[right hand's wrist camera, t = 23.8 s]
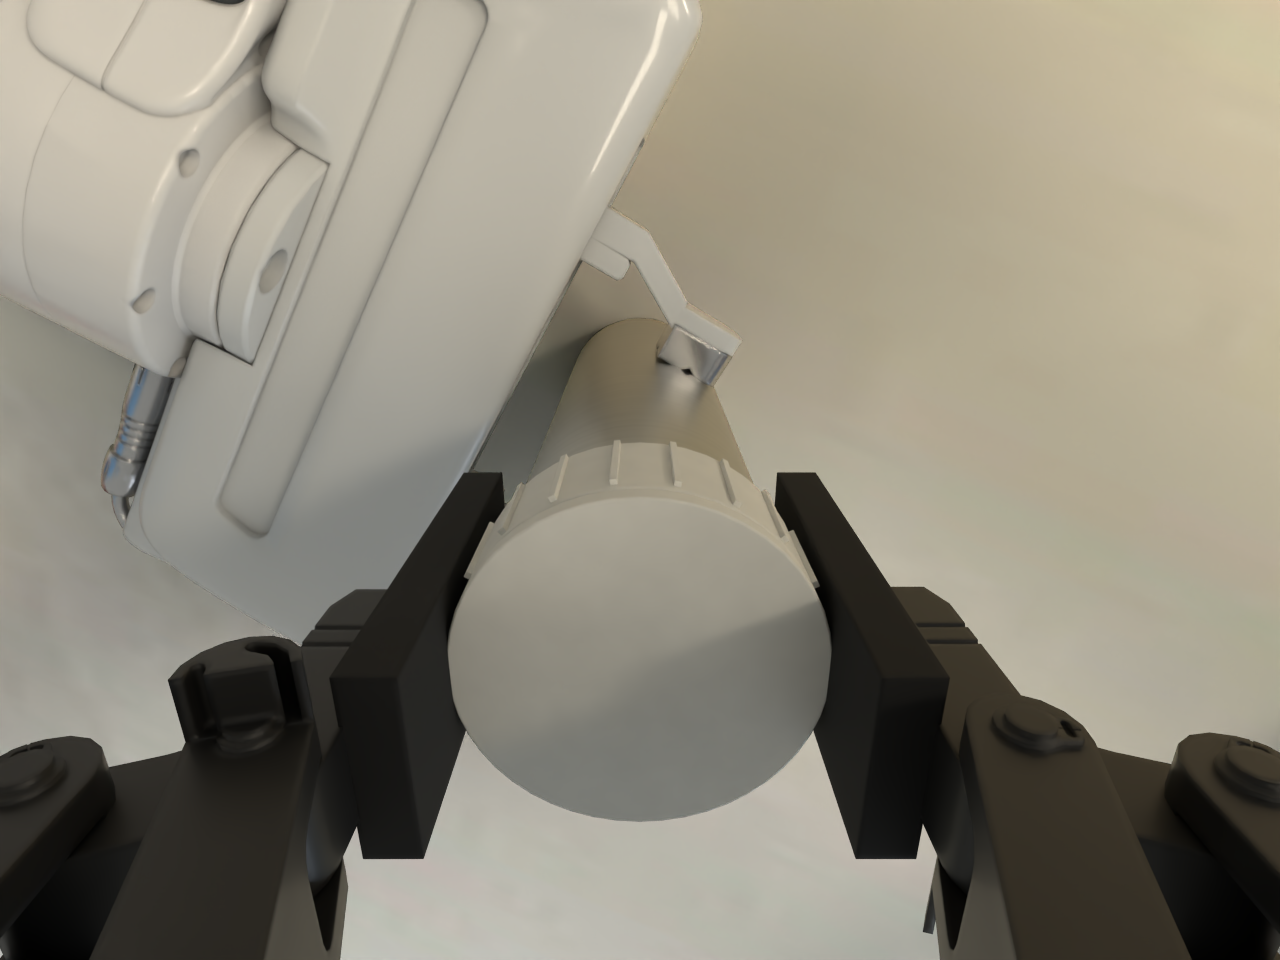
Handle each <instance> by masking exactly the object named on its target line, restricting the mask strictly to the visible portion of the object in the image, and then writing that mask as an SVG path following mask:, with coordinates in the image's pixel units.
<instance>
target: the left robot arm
mask: <svg viewBox="0 0 1280 960" xmlns="http://www.w3.org/2000/svg"><path fill="white" fill-rule="evenodd" d="M702 22H703V15H702V10H701V6H700V1H699V0H0V296H2V297H4V298H6V299H8V300H10V301H12V302H14V303H16V304H18V305H20V306H22V307H24V308H26V309H28V310H30V311H32V312H34V313H36V314H38V315H40V316H42V317H44V318H46V319H48V320H50V321H52V322H54V323H56V324H58V325H60V326H62V327H64V328H66V329H68V330H70V331H72V332H74V333H76V334H78V335H80V336H82V337H84V338H86V339H88V340H90V341H92V342H94V343H96V344H98V345H100V346H102V347H104V348H106V349H108V350H110V351H112V352H114V353H116V354H118V355H120V356H122V357H124V358H126V359H128V360H130V361H132V362H134V363H135V366H134V369H133V372H132V375H131V379H130V382H129V385H128V388H127V391H126V394H125V398H124V402H123V406H122V413H121V420H120V426H119V430H118V434H117V436H116V439H115V442H114V444H112V445H111V446H110V448H109V449H108V451H107V453H106V456H105V459H104V462H103V466H102V471H101V486H102V488H103V489H104V491H106V492H107V493H109V494H111V495H112V506H113V509H114V513H115V515H116V518H117V520H118V522H119V523H120V525H121V527H122V528H123V535H124V537H125V539H126V540H127V541H128V542H130V543H131V544H132V545H133V546H134V547H136V548H137V549H139V550H141V551H142V552H144V553H146V554H148V555H150V556H153V557H155V558H157V559H159V560H161V561H164V562H166V563H168V564H170V565H171V566H172V567H173V568H175V569H176V570H177V571H178V572H180V573H181V574H183V575H184V576H186V577H187V578H188V579H190V580H191V581H193V582H194V583H196V584H197V585H199V586H200V587H202V588H203V589H205V590H207V591H208V592H210V593H211V594H213V595H214V596H216V597H217V598H219V599H221V600H222V601H224V602H226V603H227V604H229V605H231V606H232V607H234V608H236V609H237V610H239V611H241V612H242V613H244V614H246V615H247V616H249V617H251V618H252V619H254V620H256V621H258V622H259V623H261V624H263V625H265V626H266V627H268V628H270V629H272V630H274V631H276V632H277V633H279V634H281V635H283V636H285V637H287V638H289V639H291V640H292V641H294V642H296V643H298V644H300V645H302V642H303V640H304V639H305V638H306V637H307V635H308V634H309V633H310V631H311V630H314V629H315V625H316V624H317V622H318V621H319V620H320V618H321V617H322V616H323V614H324V613H325V612H326V611H327V609H328V608H329V607H330V606H331V605H332V604H334V603H336V602H337V601H339V600H340V599H342V598H343V597H345V596H346V595H348V594H349V593H351V592H352V591H354V590H355V589H388V587H389V586H390V584H391V583H392V581H393V580H394V578H395V577H396V575H397V574H398V572H399V571H400V569H401V567H402V566H403V564H404V563H405V561H406V560H407V558H408V557H409V555H410V554H411V552H412V551H413V549H414V548H415V546H416V545H417V543H418V542H419V540H420V538H421V537H422V535H423V534H424V532H425V531H426V529H427V528H428V526H429V525H430V523H431V522H432V520H433V519H434V517H435V516H436V514H437V513H438V511H439V510H440V508H441V506H442V505H443V503H444V502H445V500H446V499H447V497H448V496H449V494H450V493H451V491H452V490H453V488H454V487H455V485H456V484H457V482H458V481H459V479H460V478H461V476H462V474H463V473H479V472H477V471H475V470H473V468H474V466H475V464H476V463H477V461H478V459H479V457H480V455H481V453H482V451H483V449H484V447H485V445H486V444H487V442H488V440H489V438H490V436H491V434H492V432H493V430H494V428H495V426H496V424H497V423H498V421H499V419H500V417H501V415H502V413H503V411H504V409H505V407H506V405H507V404H508V402H509V400H510V398H511V396H512V394H513V392H514V390H515V388H516V386H517V384H518V383H519V381H520V379H521V377H522V375H523V373H524V371H525V369H526V367H527V365H528V364H529V362H530V360H531V358H532V356H533V354H534V352H535V350H536V348H537V346H538V344H539V343H540V341H541V339H542V337H543V335H544V333H545V331H546V329H547V327H548V325H549V324H550V322H551V320H552V318H553V316H554V314H555V312H556V310H557V308H558V306H559V304H560V303H561V301H562V299H563V297H564V295H565V293H566V291H567V289H568V287H569V285H570V284H571V282H572V280H573V278H574V276H575V274H576V272H577V270H578V268H579V266H580V264H581V263H582V261H584V262H586V263H587V264H589V265H591V266H593V267H594V268H596V269H598V270H600V271H601V272H603V273H605V274H606V275H608V276H610V277H612V278H613V279H615V280H620V279H623V278H624V276H625V274H626V272H627V270H628V269H629V267H630V262H631V261H632V262H634V264H635V265H636V267H637V269H638V271H639V272H640V274H641V276H642V278H643V279H644V281H645V283H646V285H647V286H648V288H649V290H650V292H651V293H652V295H653V297H654V299H655V300H656V302H657V304H658V306H659V307H660V309H661V311H662V313H663V314H664V316H665V318H666V320H667V321H668V324H667V326H666V328H665V329H664V331H663V333H662V335H661V337H660V338H659V340H658V342H657V344H656V349H657V357H659V358H661V359H662V360H664V361H666V362H667V363H669V364H671V365H673V366H675V367H677V368H680V369H687V368H689V369H690V371H691V373H692V375H693V376H694V377H695V378H697V379H698V380H699V381H700V382H702V383H704V384H706V385H708V386H712V387H713V386H714V384H715V383H716V381H717V380H718V378H719V377H720V375H721V374H722V372H723V371H724V369H725V367H726V366H727V364H728V363H729V361H730V360H731V358H732V356H733V355H734V353H735V352H736V350H737V348H738V347H739V345H740V344H741V342H742V341H743V340H742V339H741V338H740V336H739V335H738V334H737V333H736V332H735V331H733V330H732V329H730V328H729V327H728V326H726V325H725V324H723V323H721V322H720V321H718V320H716V319H715V318H713V317H711V316H710V315H708V314H706V313H705V312H703V311H701V310H700V309H698V308H696V307H695V306H693V305H691V304H690V303H688V302H687V300H686V298H685V296H684V294H683V292H682V290H681V289H680V287H679V285H678V283H677V281H676V279H675V278H674V276H673V274H672V272H671V270H670V269H669V267H668V265H667V263H666V261H665V259H664V258H663V256H662V254H661V252H660V250H659V249H658V247H657V245H656V243H655V241H654V239H653V238H652V236H651V234H650V232H649V230H648V229H646V228H644V227H643V226H641V225H639V224H638V223H636V222H635V221H633V220H631V219H630V218H628V217H626V216H625V215H623V214H621V213H620V212H618V211H617V210H615V209H613V208H612V207H611V205H612V204H613V202H614V200H615V198H616V196H617V194H618V192H619V190H620V188H621V186H622V184H623V183H624V181H625V179H626V177H627V175H628V173H629V171H630V169H631V167H632V165H633V163H634V162H635V160H636V158H637V156H638V154H639V152H640V150H641V148H642V146H643V144H644V143H645V141H646V139H647V137H648V135H649V133H650V131H651V129H652V127H653V125H654V123H655V122H656V120H657V118H658V116H659V114H660V112H661V110H662V108H663V106H664V104H665V103H666V101H667V99H668V97H669V95H670V93H671V91H672V89H673V87H674V85H675V83H676V82H677V80H678V78H679V76H680V74H681V72H682V70H683V68H684V66H685V64H686V62H687V60H688V59H689V57H690V55H691V53H692V51H693V49H694V47H695V44H696V42H697V40H698V38H699V34H700V30H701V26H702ZM503 491H505V489H504V486H503ZM133 496H134V499H133V502H132V504H131V507H130V505H129V497H133ZM507 504H508V503H504V505H505V506H506V505H507Z"/></svg>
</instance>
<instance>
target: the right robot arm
mask: <svg viewBox="0 0 1280 960" xmlns="http://www.w3.org/2000/svg"><path fill="white" fill-rule="evenodd" d="M504 508H505V505H504V491H503V478H502V473H463V474H462V476H461V478H460V479H459V481H458V482H457V484H456V485H455V487H454V488H453V490H452V491H451V493H450V494H449V496H448V497H447V499H446V500H445V502H444V503H443V505H442V506H441V508H440V510H439V511H438V513H437V514H436V516H435V517H434V519H433V520H432V522H431V523H430V525H429V526H428V528H427V529H426V531H425V532H424V534H423V535H422V537H421V538H420V540H419V542H418V543H417V545H416V546H415V548H414V549H413V551H412V552H411V554H410V555H409V557H408V558H407V560H406V561H405V563H404V564H403V566H402V567H401V569H400V571H399V572H398V574H397V575H396V577H395V578H394V580H393V581H392V583H391V584H390V586H389V587H388V589H355V590H354V591H352V592H351V593H349V594H348V595H346V596H345V597H343V598H342V599H340V600H339V601H337V602H336V603H334V604H332V605H331V606H330V607H329V608H328V609H327V611H326V612H325V613H324V614H323V616H322V617H321V618H320V620H319V621H318V622H317V624H316V625H315V629H314V630H311V631H310V633H309V634H308V635H307V637H306V638H305V639H304V640H303V642H302V647H299V646H298V645H296V644H295V643H294V642H293V641H291V640H289V639H285V638H280V637H275V636H259V637H247V638H243V639H238V640H234V641H230V642H225V643H223V644H220V645H218V646H215V647H213V648H210V649H208V650H206V651H203V652H201V653H199V654H198V655H196V656H194V657H193V658H191V659H190V660H188V661H187V662H185V663H184V664H182V665H181V666H180V667H179V668H178V669H177V670H176V671H175V673H174V674H173V675H172V676H171V677H170V678H169V679H168V682H169V686H170V689H171V693H172V696H173V700H174V703H175V707H176V710H177V714H178V717H179V721H180V724H181V728H182V731H183V735H184V738H185V742H186V743H185V745H184V747H183V749H182V751H179V752H176V753H172V754H168V755H164V756H160V757H155V758H150V759H146V760H141V761H136V762H132V763H127V764H122V765H118V766H113V767H108V764H107V761H106V758H105V755H104V752H103V750H102V747H101V746H100V745H98V744H97V743H96V742H94V741H93V740H92V739H91V738H83V737H75V736H66V737H59V738H52V739H45V740H41V741H37V742H33V743H30V744H29V745H27V744H26V745H24V746H21V747H18V748H15V749H13V750H11V751H9V752H8V753H6V754H4V755H2V756H0V949H1V951H2V953H3V955H2V957H1V958H0V960H340V955H341V946H342V937H343V928H344V919H345V910H346V901H347V892H348V883H347V876H346V870H345V865H344V860H343V855H344V853H345V851H346V849H347V847H348V844H349V842H350V840H351V838H352V836H353V833H354V831H355V829H356V827H357V829H358V834H359V840H360V845H361V850H362V856H363V859H424V856H425V853H426V850H427V847H428V844H429V841H430V838H431V835H432V832H433V828H434V825H435V822H436V819H437V816H438V813H439V810H440V807H441V804H442V801H443V798H444V795H445V792H446V789H447V786H448V783H449V780H450V777H451V774H452V771H453V768H454V765H455V762H456V759H457V756H458V753H459V750H460V747H461V744H462V741H463V738H464V735H465V731H466V729H465V727H464V725H463V723H462V721H461V719H460V718H459V716H458V713H457V710H456V707H455V704H454V701H453V695H452V687H451V678H450V669H449V660H448V650H447V644H448V635H449V629H450V626H451V622H452V619H453V615H454V612H455V609H456V607H457V605H458V602H459V600H460V598H461V596H462V594H463V591H464V589H465V587H466V585H467V583H468V580H469V579H467V578H465V577H464V575H465V573H466V571H467V569H468V566H469V564H470V562H471V560H472V558H473V556H474V554H475V552H476V550H477V547H478V545H479V543H480V541H481V539H482V537H483V535H484V533H485V531H486V529H487V526H488V524H489V523H490V522H492V523H494V524H495V522H496V520H497V518H498V517H499V515H500V514H501V512H502V511H503V509H504ZM775 508H776V510H777V512H778V513H779V515H780V517H781V518H782V520H783V521H784V523H785V525H786V527H787V530H788V532H789V531H792V530H794V532H795V534H796V536H797V539H798V541H799V543H800V545H801V547H802V549H803V551H804V553H805V555H806V558H807V560H808V562H809V564H810V566H811V568H812V570H813V572H814V574H815V577H816V579H817V581H818V583H819V585H820V586H819V587H817V588H814V589H815V591H816V593H817V595H818V598H819V600H820V602H821V604H822V606H823V609H824V611H825V614H826V618H827V622H828V625H829V629H830V633H831V642H832V652H831V662H830V671H829V680H828V688H827V696H826V702H825V705H824V708H823V711H822V713H821V716H820V718H819V720H818V722H817V724H816V726H815V727H814V729H813V731H814V734H815V737H816V740H817V743H818V746H819V749H820V752H821V755H822V758H823V761H824V764H825V767H826V770H827V773H828V776H829V779H830V782H831V785H832V788H833V791H834V794H835V797H836V800H837V803H838V806H839V809H840V813H841V816H842V819H843V822H844V825H845V828H846V831H847V834H848V837H849V840H850V843H851V846H852V849H853V852H854V855H855V858H856V859H916V857H917V852H918V846H919V841H920V836H921V830H922V825H924V827H925V829H926V831H927V834H928V836H929V838H930V840H931V842H932V844H933V847H934V849H935V851H936V853H937V860H936V865H935V870H934V875H933V880H932V885H931V890H930V895H929V900H928V905H927V910H926V915H925V921H924V928H923V932H926V933H930V934H933V930H934V925H935V920H936V927H937V935H938V944H939V953H940V960H1280V954H1279V953H1278V952H1277V951H1278V949H1279V947H1280V753H1279V752H1277V751H1275V750H1273V749H1272V748H1270V747H1268V746H1266V745H1263V744H1261V743H1258V742H1255V741H1253V742H1252V741H1250V740H1249V739H1245V738H1240V737H1237V736H1231V735H1223V734H1216V733H1203V734H1195V735H1189V736H1188V737H1187V738H1185V739H1184V740H1183V741H1181V742H1180V743H1179V744H1178V747H1177V749H1176V752H1175V755H1174V758H1173V761H1172V764H1168V763H1163V762H1158V761H1154V760H1149V759H1144V758H1140V757H1135V756H1130V755H1125V754H1121V753H1116V752H1112V751H1108V750H1105V749H1101V748H1097V746H1096V744H1095V741H1094V740H1093V739H1092V737H1091V736H1090V735H1089V733H1088V732H1087V730H1086V729H1085V728H1084V726H1083V725H1081V724H1080V723H1079V722H1077V721H1076V720H1075V719H1073V718H1072V717H1071V716H1069V715H1068V714H1067V713H1066V712H1064V711H1062V710H1060V709H1058V708H1056V707H1054V706H1052V705H1049V704H1047V703H1045V702H1043V701H1041V700H1037V699H1033V698H1029V697H1025V696H1022V695H1020V694H1019V692H1018V691H1017V690H1016V688H1015V687H1014V686H1013V685H1012V683H1011V682H1010V681H1009V679H1008V678H1007V677H1006V676H1005V674H1004V673H1003V672H1002V670H1001V669H1000V668H999V667H998V665H997V664H996V663H995V661H994V660H993V659H992V658H991V656H990V655H989V654H988V652H987V651H986V650H985V649H984V647H983V646H982V645H981V644H978V640H977V638H976V637H975V636H974V634H973V633H972V632H971V631H970V629H969V628H968V627H965V623H964V622H963V620H962V619H961V618H960V616H959V615H958V614H957V612H956V611H955V610H954V609H953V607H952V606H951V605H950V604H949V603H948V602H946V601H945V600H943V599H942V598H940V597H939V596H937V595H935V594H934V593H932V592H931V591H929V590H928V589H926V588H925V587H890V585H889V584H888V582H887V581H886V579H885V578H884V576H883V575H882V573H881V572H880V570H879V569H878V567H877V566H876V564H875V563H874V561H873V559H872V558H871V556H870V555H869V553H868V552H867V550H866V549H865V547H864V546H863V544H862V543H861V541H860V540H859V538H858V537H857V535H856V534H855V532H854V531H853V529H852V527H851V526H850V524H849V523H848V521H847V520H846V518H845V517H844V515H843V514H842V512H841V511H840V509H839V508H838V506H837V505H836V503H835V502H834V500H833V498H832V497H831V495H830V494H829V492H828V491H827V489H826V488H825V486H824V485H823V483H822V482H821V480H820V479H819V477H818V476H817V474H816V473H777V481H776V495H775Z"/></svg>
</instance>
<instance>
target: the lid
mask: <svg viewBox="0 0 1280 960" xmlns="http://www.w3.org/2000/svg"><path fill="white" fill-rule="evenodd" d="M464 577H465V578H467V579H469V580H468V583H467V585H466V587H465V589H464V591H463V594H462V596H461V598H460V600H459V602H458V605H457V607H456V609H455V612H454V615H453V619H452V622H451V626H450V629H449V635H448V644H447V650H448V660H449V669H450V678H451V687H452V695H453V701H454V704H455V707H456V710H457V713H458V716H459V718H460V719H461V721H462V723H463V725H464V727H465V729H466V731H467V733H468V735H469V736H470V737H471V739H472V740H473V742H474V743H475V744H476V746H477V747H478V749H479V750H480V751H481V752H482V754H483V755H484V756H485V757H486V758H487V759H488V760H489V761H490V762H491V763H492V764H493V765H494V766H495V767H496V768H497V769H498V770H499V771H500V772H502V773H503V774H504V775H505V776H506V777H508V778H509V779H510V780H511V781H512V782H514V783H516V784H517V785H519V786H520V787H522V788H523V789H525V790H526V791H528V792H529V793H531V794H533V795H535V796H537V797H539V798H541V799H543V800H545V801H547V802H549V803H551V804H554V805H556V806H559V807H562V808H564V809H567V810H570V811H573V812H576V813H580V814H584V815H588V816H592V817H597V818H604V819H610V820H618V821H637V822H642V821H662V820H669V819H676V818H682V817H687V816H691V815H695V814H699V813H703V812H707V811H709V810H712V809H715V808H718V807H720V806H723V805H726V804H728V803H730V802H732V801H734V800H736V799H738V798H740V797H742V796H744V795H746V794H748V793H750V792H751V791H753V790H754V789H756V788H758V787H759V786H761V785H762V784H764V783H765V782H767V781H768V780H769V779H770V778H772V777H773V776H774V775H775V774H776V773H778V772H779V771H780V770H781V769H782V768H784V767H785V765H786V764H787V763H788V762H789V761H790V760H791V759H792V758H793V757H794V756H795V755H796V754H797V753H798V752H799V750H800V749H801V747H802V746H803V745H804V743H805V742H806V740H807V739H808V738H809V736H810V735H811V733H812V731H813V729H814V727H815V726H816V724H817V722H818V720H819V718H820V716H821V713H822V711H823V708H824V705H825V702H826V696H827V688H828V680H829V671H830V662H831V652H832V642H831V633H830V629H829V625H828V622H827V618H826V614H825V611H824V609H823V606H822V604H821V602H820V600H819V598H818V595H817V593H816V591H815V589H814V588H817V587H819V586H820V585H819V583H818V581H817V579H816V577H815V574H814V572H813V570H812V568H811V566H810V564H809V562H808V560H807V558H806V555H805V553H804V551H803V549H802V547H801V545H800V543H799V541H798V539H797V536H796V534H795V532H794V530H792V531H789V532H788V530H787V527H786V525H785V523H784V521H783V520H782V518H781V517H780V515H779V513H778V512H777V510H776V508H775V506H774V503H773V501H772V499H771V497H770V494H769V493H768V492H767V491H766V490H763V491H762V492H761V491H760V490H759V489H758V488H757V487H756V486H755V485H753V484H752V483H751V482H750V481H749V480H748V479H747V478H745V477H744V476H743V475H741V474H740V473H738V472H737V471H735V470H734V469H732V468H731V467H730V466H729V463H728V461H727V460H725V459H723V458H722V460H721V461H718V460H715V459H713V458H711V457H709V456H707V455H704V454H701V453H698V452H695V451H692V450H689V449H686V448H682V447H677V444H676V442H671V441H670V443H669V445H666V444H658V443H643V442H638V443H621V441H620V440H614V442H613V445H608V446H602V447H597V448H593V449H590V450H587V451H584V452H581V453H578V454H575V455H572V456H570V457H568V456H567V454H565V455H563V456H561V457H560V460H559V462H557V463H555V464H553V465H552V466H550V467H549V468H547V469H546V470H544V471H543V472H541V473H539V474H538V475H536V476H535V477H534V478H533V479H532V480H530V481H529V482H528V483H527V484H526V485H524V484H523V483H520V484H519V485H518V486H517V488H516V490H515V492H514V495H513V497H512V499H511V500H510V501H509V502H508V504H507V505H506V506H505V508H504V509H503V511H502V512H501V514H500V515H499V517H498V518H497V520H496V522H495V524H494V523H492V522H490V523H489V524H488V526H487V529H486V531H485V533H484V535H483V537H482V539H481V541H480V543H479V545H478V547H477V550H476V552H475V554H474V556H473V558H472V560H471V562H470V564H469V566H468V569H467V571H466V573H465V575H464Z"/></svg>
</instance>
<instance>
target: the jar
mask: <svg viewBox="0 0 1280 960" xmlns="http://www.w3.org/2000/svg"><path fill="white" fill-rule="evenodd" d="M666 326H667V324H666V323H664V322H661V321H657V320H653V319H646V318H634V319H626V320H622V321H618V322H616V323H613V324H611V325H609V326H607V327H605V328H604V329H602V330H600V331H599V332H598V333H597V334H595V335H594V336H593V337H592V338H591V339H590V340H589V341H588V342H587V344H586V345H585V346H584V347H583V349H582V351H581V352H580V354H579V356H578V358H577V361H576V363H575V366H574V368H573V371H572V373H571V375H570V378H569V380H568V383H567V385H566V388H565V390H564V393H563V395H562V397H561V400H560V402H559V405H558V407H557V410H556V412H555V415H554V417H553V419H552V422H551V424H550V427H549V429H548V432H547V434H546V437H545V439H544V442H543V444H542V446H541V449H540V451H539V454H538V456H537V459H536V461H535V464H534V466H533V468H532V471H531V473H530V476H529V478H528V481H527V483H528V482H529V481H530V480H532V479H533V478H534V477H535V476H536V475H538V474H539V473H541V472H543V471H544V470H546V469H547V468H549V467H550V466H552V465H553V464H555V463H557V462H559V460H560V457H561V456H563V455H565V454H567V456H568V457H570V456H572V455H575V454H578V453H581V452H584V451H587V450H590V449H593V448H597V447H602V446H608V445H613V442H614V440H620V441H621V443H638V442H643V443H658V444H666V445H669V443H670V441H671V442H676V444H677V447H682V448H686V449H689V450H692V451H695V452H698V453H701V454H704V455H707V456H709V457H711V458H713V459H715V460H718V461H721V460H722V458H723V459H725V460H727V461H728V463H729V466H730V467H731V468H732V469H734V470H735V471H737V472H738V473H740V474H741V475H743V476H744V477H745V478H747V479H748V480H749V481H750V482H751V483H752V484H753V482H752V479H751V477H750V474H749V472H748V470H747V467H746V465H745V462H744V460H743V457H742V455H741V452H740V450H739V447H738V445H737V443H736V440H735V438H734V435H733V433H732V430H731V428H730V425H729V423H728V421H727V418H726V416H725V413H724V411H723V408H722V406H721V403H720V401H719V398H718V396H717V394H716V391H715V389H714V386H713V387H712V386H708V385H706V384H704V383H702V382H700V381H699V380H698V379H697V378H695V377H694V376H693V375H692V373H691V371H690V369H689V368H687V369H680V368H677V367H675V366H673V365H671V364H669V363H667V362H666V361H664V360H662V359H661V358H659V357H657V349H656V344H657V342H658V340H659V338H660V337H661V335H662V333H663V331H664V329H665V328H666ZM527 483H526V484H527ZM753 485H754V484H753Z"/></svg>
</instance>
